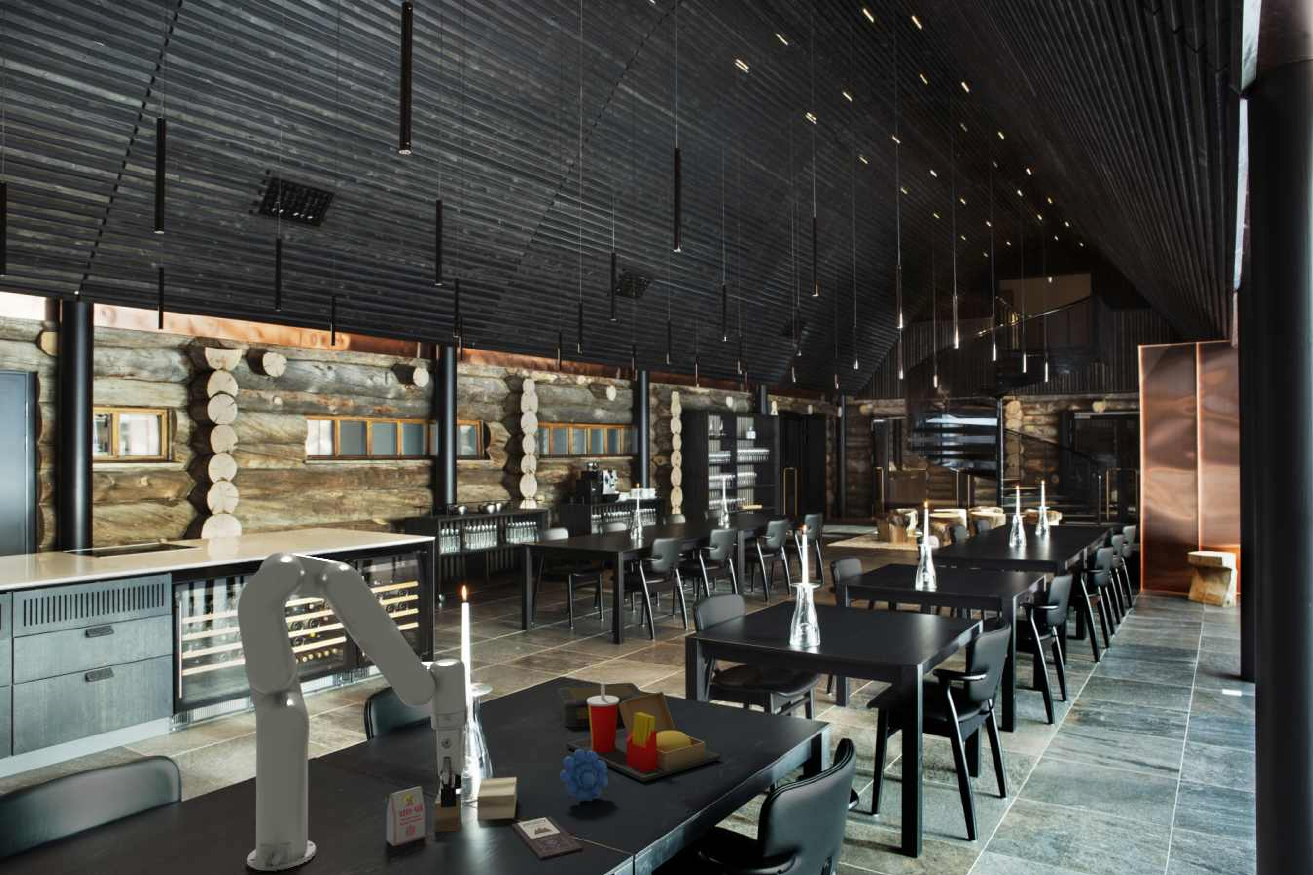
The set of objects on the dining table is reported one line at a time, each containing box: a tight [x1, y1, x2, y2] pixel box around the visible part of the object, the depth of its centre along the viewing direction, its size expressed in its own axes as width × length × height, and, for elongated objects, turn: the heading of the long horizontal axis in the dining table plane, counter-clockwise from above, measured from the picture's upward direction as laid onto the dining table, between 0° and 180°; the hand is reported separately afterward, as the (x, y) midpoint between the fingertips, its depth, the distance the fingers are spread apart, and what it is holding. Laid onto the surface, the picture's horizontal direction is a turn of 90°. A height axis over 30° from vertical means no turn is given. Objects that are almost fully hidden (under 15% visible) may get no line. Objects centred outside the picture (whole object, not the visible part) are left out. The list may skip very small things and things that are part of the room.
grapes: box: [559, 749, 609, 802], centre depth 197 cm, size 12×7×12 cm, turn 114°
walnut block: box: [434, 793, 462, 833], centre depth 184 cm, size 5×5×6 cm
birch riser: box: [476, 776, 518, 821], centre depth 194 cm, size 11×8×5 cm
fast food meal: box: [565, 682, 722, 783], centre depth 230 cm, size 26×35×18 cm
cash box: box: [557, 682, 645, 729], centre depth 267 cm, size 25×20×8 cm
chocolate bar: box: [510, 815, 584, 861], centre depth 178 cm, size 9×1×18 cm
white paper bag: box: [386, 785, 426, 847], centre depth 179 cm, size 4×7×10 cm, turn 129°
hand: (451, 797), depth 185 cm, fingers open, 9 cm apart
